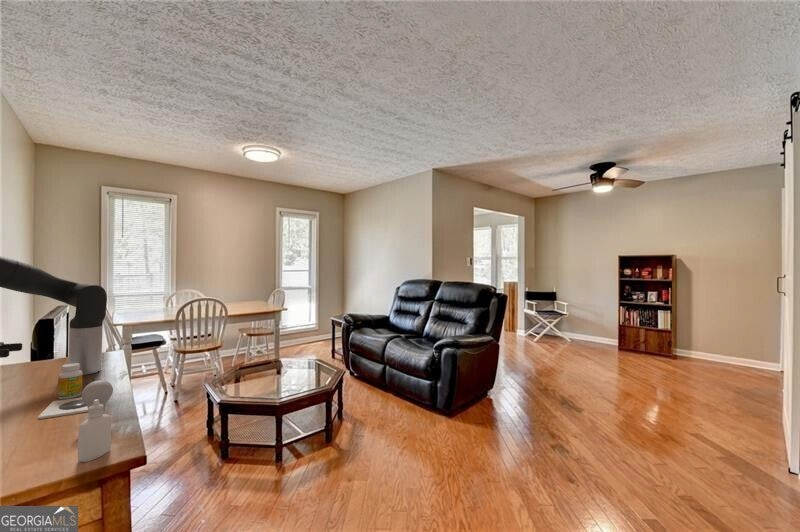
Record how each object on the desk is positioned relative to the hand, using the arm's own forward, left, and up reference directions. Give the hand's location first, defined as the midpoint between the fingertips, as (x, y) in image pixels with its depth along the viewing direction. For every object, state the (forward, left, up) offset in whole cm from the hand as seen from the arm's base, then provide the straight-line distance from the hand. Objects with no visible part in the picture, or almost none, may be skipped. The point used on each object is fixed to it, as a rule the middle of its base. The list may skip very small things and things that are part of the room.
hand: (15, 349), depth 98 cm
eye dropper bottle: (+46, +26, -16) cm, 55 cm away
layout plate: (+11, +16, -16) cm, 25 cm away
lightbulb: (+27, +23, -16) cm, 39 cm away
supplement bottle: (0, +12, -16) cm, 20 cm away
